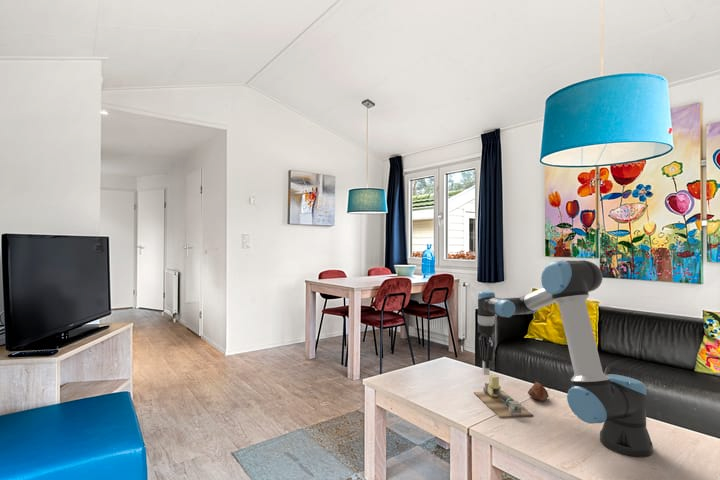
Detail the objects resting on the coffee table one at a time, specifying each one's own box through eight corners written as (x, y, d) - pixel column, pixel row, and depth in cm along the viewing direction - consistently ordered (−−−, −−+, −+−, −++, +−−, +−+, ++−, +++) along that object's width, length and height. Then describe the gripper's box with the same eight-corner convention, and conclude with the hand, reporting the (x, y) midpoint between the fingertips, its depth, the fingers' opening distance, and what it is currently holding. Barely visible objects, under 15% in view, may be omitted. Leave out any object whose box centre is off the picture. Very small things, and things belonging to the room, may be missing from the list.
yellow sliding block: (500, 396, 175) (500, 377, 176) (491, 396, 175) (491, 377, 175) (496, 392, 179) (496, 374, 180) (487, 393, 179) (487, 374, 179)
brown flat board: (533, 416, 158) (533, 403, 158) (499, 418, 157) (499, 404, 157) (502, 392, 184) (502, 380, 184) (473, 393, 182) (473, 381, 182)
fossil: (539, 398, 168) (533, 374, 174) (522, 401, 174) (517, 378, 179) (555, 403, 174) (550, 379, 180) (538, 406, 180) (533, 383, 185)
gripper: (500, 327, 179) (500, 379, 179) (487, 321, 192) (487, 369, 192) (484, 327, 179) (484, 379, 179) (473, 321, 191) (472, 370, 192)
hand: (486, 374), depth 185 cm, fingers closed
